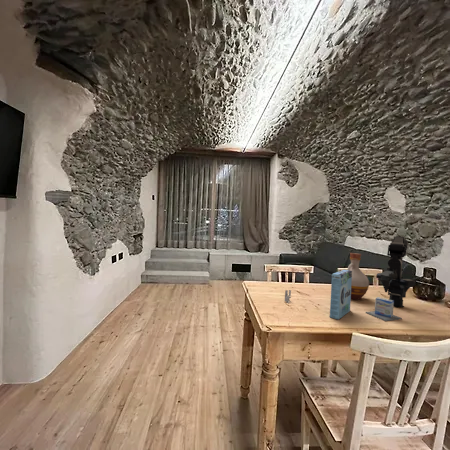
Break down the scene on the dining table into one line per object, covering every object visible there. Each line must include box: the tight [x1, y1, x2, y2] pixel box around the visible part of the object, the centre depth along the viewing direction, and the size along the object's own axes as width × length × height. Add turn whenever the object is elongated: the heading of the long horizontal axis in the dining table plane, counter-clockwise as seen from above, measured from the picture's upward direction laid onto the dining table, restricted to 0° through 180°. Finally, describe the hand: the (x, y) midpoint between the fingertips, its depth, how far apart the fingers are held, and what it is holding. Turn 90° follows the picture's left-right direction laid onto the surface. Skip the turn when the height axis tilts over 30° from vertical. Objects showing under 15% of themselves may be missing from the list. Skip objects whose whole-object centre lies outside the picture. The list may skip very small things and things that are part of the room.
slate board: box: [365, 310, 403, 322], centre depth 143 cm, size 12×12×1 cm
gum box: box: [329, 269, 352, 320], centre depth 142 cm, size 20×5×23 cm, turn 138°
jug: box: [346, 252, 370, 301], centre depth 173 cm, size 20×18×30 cm
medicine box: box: [374, 296, 394, 318], centre depth 142 cm, size 8×4×9 cm, turn 46°
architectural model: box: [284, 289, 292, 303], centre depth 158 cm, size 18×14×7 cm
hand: (393, 294), depth 144 cm, fingers open, 9 cm apart
